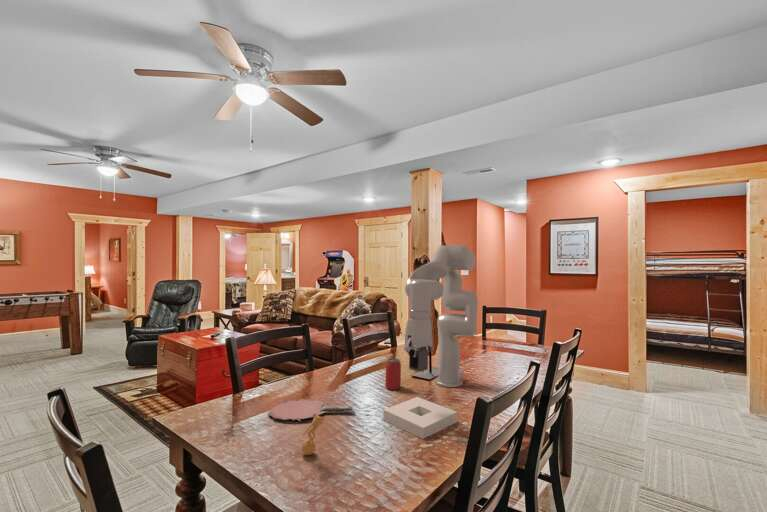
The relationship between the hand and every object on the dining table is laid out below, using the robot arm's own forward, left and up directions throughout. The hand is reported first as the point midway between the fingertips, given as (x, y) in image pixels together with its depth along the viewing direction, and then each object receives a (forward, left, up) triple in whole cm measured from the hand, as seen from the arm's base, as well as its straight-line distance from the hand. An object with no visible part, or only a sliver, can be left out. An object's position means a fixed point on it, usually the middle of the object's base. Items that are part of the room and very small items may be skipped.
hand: (418, 365), depth 130 cm
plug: (0, 0, -2) cm, 2 cm away
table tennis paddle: (+27, -28, -19) cm, 43 cm away
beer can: (-14, -26, -18) cm, 35 cm away
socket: (+2, +3, -18) cm, 18 cm away
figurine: (+42, -3, -18) cm, 46 cm away
